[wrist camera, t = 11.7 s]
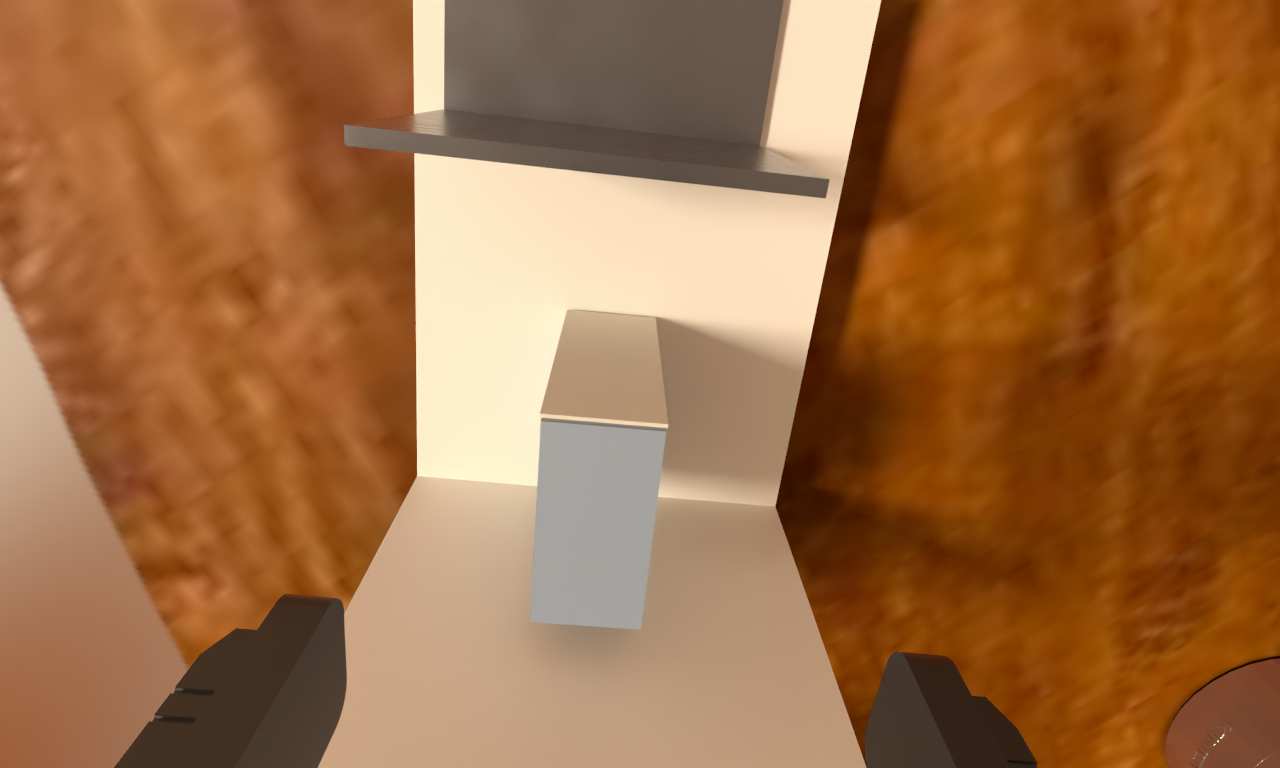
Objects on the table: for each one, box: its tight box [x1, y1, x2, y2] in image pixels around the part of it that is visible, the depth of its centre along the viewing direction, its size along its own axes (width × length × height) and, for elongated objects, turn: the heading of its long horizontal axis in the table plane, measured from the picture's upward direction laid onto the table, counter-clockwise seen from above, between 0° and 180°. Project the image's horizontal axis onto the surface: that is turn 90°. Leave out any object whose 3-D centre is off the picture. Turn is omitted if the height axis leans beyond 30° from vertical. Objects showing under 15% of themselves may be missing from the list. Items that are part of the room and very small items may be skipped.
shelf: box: [318, 0, 881, 768], centre depth 20 cm, size 14×20×16 cm
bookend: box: [344, 0, 830, 198], centre depth 18 cm, size 10×5×9 cm, turn 84°
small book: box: [530, 310, 668, 630], centre depth 23 cm, size 3×6×9 cm, turn 174°
